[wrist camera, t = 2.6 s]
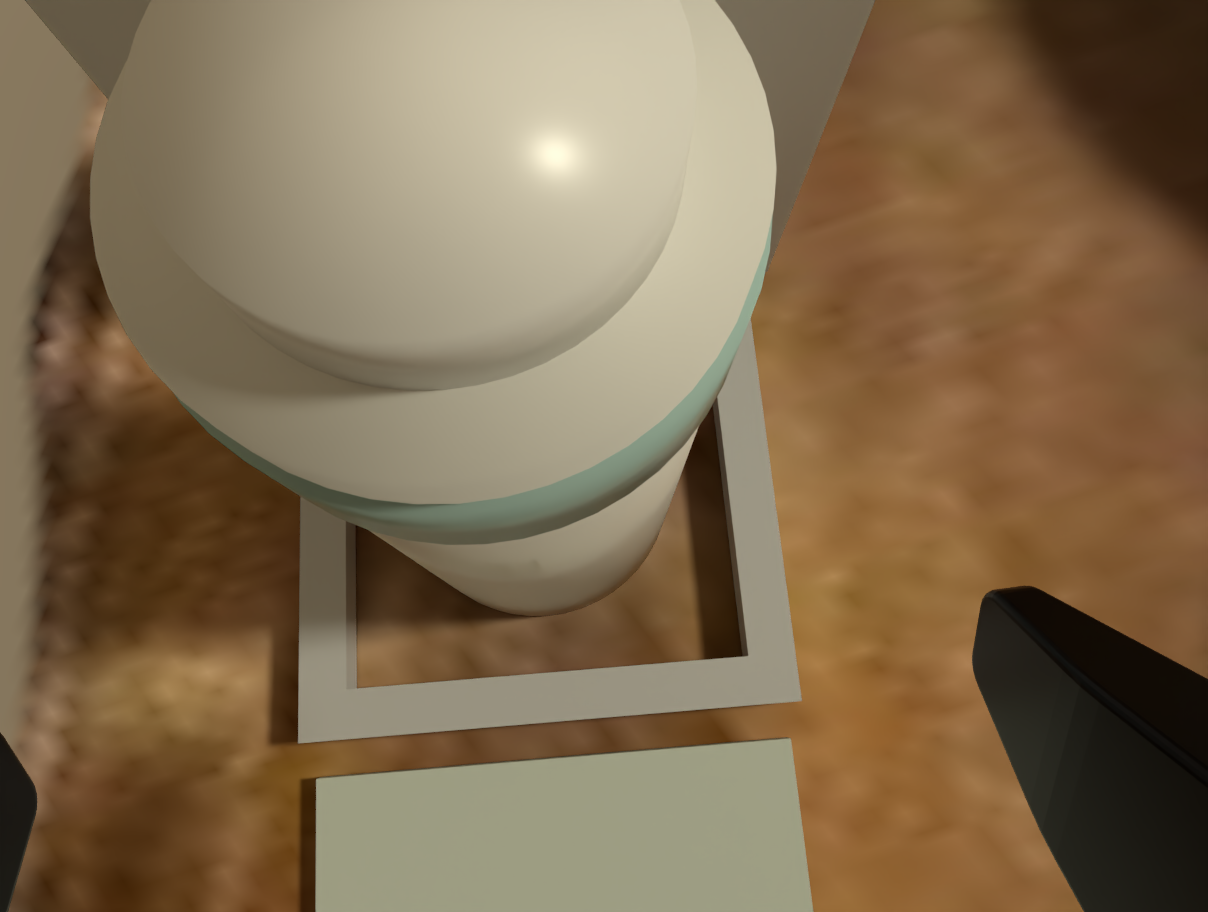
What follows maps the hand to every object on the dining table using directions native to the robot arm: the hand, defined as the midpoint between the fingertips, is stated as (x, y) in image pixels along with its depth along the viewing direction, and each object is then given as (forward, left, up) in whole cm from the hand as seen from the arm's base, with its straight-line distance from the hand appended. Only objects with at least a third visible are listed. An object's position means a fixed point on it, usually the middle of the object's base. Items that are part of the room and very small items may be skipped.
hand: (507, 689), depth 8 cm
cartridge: (+5, 0, -11) cm, 12 cm away
